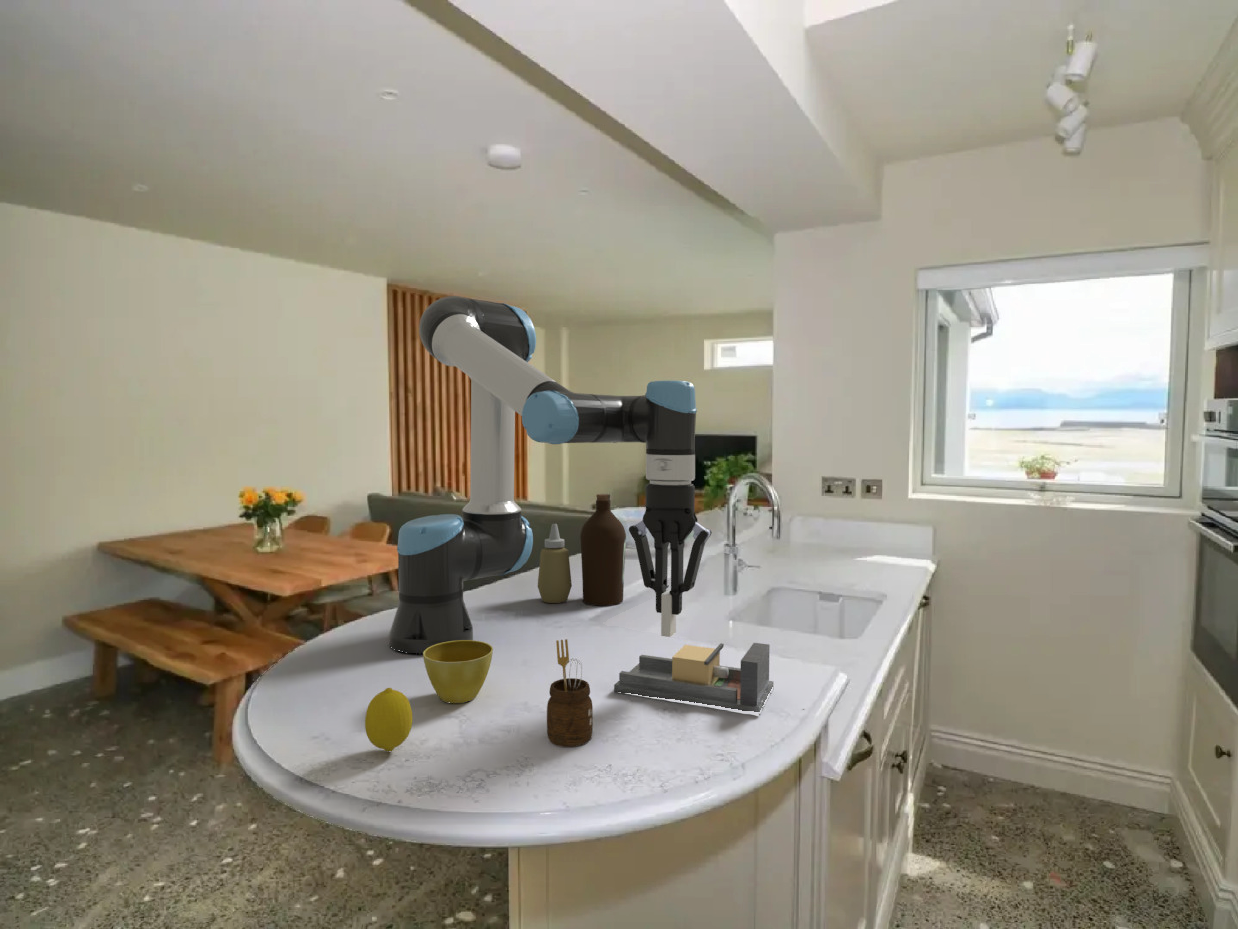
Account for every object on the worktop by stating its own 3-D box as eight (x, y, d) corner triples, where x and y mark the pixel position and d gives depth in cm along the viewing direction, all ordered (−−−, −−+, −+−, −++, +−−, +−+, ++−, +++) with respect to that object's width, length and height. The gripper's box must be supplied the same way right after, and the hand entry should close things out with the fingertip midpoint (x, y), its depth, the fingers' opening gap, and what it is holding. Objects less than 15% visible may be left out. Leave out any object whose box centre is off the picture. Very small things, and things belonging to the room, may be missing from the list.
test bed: (614, 692, 104) (614, 645, 103) (640, 669, 114) (640, 626, 113) (759, 716, 95) (759, 665, 95) (773, 689, 105) (774, 643, 105)
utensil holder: (555, 752, 84) (555, 656, 84) (540, 731, 90) (540, 642, 89) (599, 744, 87) (599, 650, 86) (582, 724, 92) (582, 637, 92)
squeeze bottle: (574, 597, 163) (574, 522, 162) (568, 605, 155) (568, 526, 154) (541, 596, 164) (541, 521, 163) (533, 604, 156) (533, 526, 155)
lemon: (372, 742, 87) (371, 680, 86) (416, 741, 87) (416, 679, 87) (359, 763, 81) (358, 697, 81) (407, 761, 82) (406, 696, 81)
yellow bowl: (477, 714, 96) (477, 664, 95) (411, 708, 97) (410, 659, 97) (502, 687, 106) (502, 642, 105) (441, 683, 107) (441, 638, 107)
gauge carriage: (669, 689, 101) (669, 656, 101) (687, 669, 110) (687, 639, 109) (719, 697, 98) (719, 663, 98) (734, 676, 107) (734, 645, 106)
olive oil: (588, 608, 153) (588, 497, 151) (574, 597, 162) (574, 493, 161) (632, 604, 156) (632, 495, 155) (616, 594, 166) (617, 491, 165)
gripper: (621, 482, 104) (620, 635, 105) (704, 485, 98) (702, 646, 100) (639, 479, 110) (638, 622, 112) (718, 482, 105) (715, 632, 107)
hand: (668, 633), depth 106 cm, fingers closed
